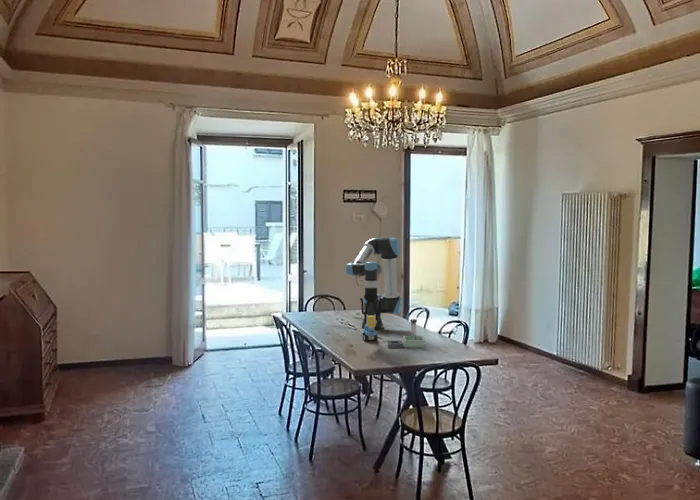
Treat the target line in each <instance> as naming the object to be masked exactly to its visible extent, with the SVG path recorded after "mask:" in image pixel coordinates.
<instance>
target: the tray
mask: <svg viewBox="0 0 700 500" xmlns="http://www.w3.org/2000/svg"><path fill="white" fill-rule="evenodd" d="M402 342H403V348H405V349H410V348H411V349H413V348H414V349H419V348H421V349H422V348H423V349H425V348H426V347H425V339H424V337H423V335H416V340H411V335H403V336H402Z"/></svg>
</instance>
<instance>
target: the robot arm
mask: <svg viewBox="0 0 700 500" xmlns="http://www.w3.org/2000/svg"><path fill="white" fill-rule="evenodd" d="M375 255H377V256H380V259H382V261H383V262H382V263H383V267H382V265H381V264H379V263H378V262H376V261H369V259H370V258H371V257H372V256H375ZM399 255H401V245H400V241H399V239H398V238H397V237H373V238H370V239H368V240H366V241H365V242H364V243H363V244H362V245H361V247H360V251H359V252H358V253H357V256H356V257H355V258H354V260H353V262H349V263H347V264H346V265H345V274H346V275H347V276H364V287H365V288H364V296H363V297H360V299H359V300H360V302H361V303H360V304H361V306H360V307H361V314H362V315H364V316H363V319H362V323H361V328H362V329H363V330H364V328H365V325H366V324H367V326H368V316H374V317H375V328H374V329H375V330H381V329H384V322H383V320H382V317H381V315H382V314H391V315H395V314H396V315H398V314H400V312H401V311H402V307H403V297H402V296H401V295H400V293H399V292H398V281H397V280H398V278H397V259H398V258H399ZM382 272H383V279H384V280H383V281H384V293H383V294H382V295H381V294H379V293H378V276H380V274H381V273H382ZM376 320H377V323H376Z"/></svg>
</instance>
